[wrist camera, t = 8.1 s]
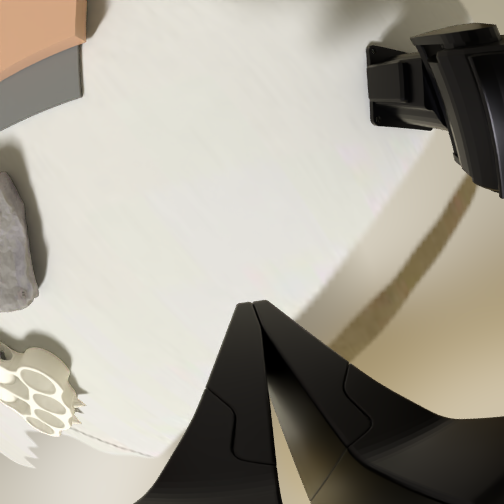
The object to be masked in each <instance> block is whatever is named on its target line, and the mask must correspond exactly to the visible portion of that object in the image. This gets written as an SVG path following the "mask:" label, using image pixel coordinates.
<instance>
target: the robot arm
mask: <svg viewBox="0 0 504 504" xmlns="http://www.w3.org/2000/svg"><path fill="white" fill-rule="evenodd" d="M410 39H411V41H412V43H413V45H414V46H415V45H416V48H417V50H418V52H414V53H405V52H401V51H397V50H393V49H388V48H384V47H379V46H374V45H372V46H369V47H367V49H366V54H367V64H368V68H367V78H368V95H369V99H370V119H371V123H372V124H373V125H375V126H385V127H398V128H409V129H419V130H427V131H431V130H432V129H433V128H436V129H441V130H446V131H449V135H450V138H451V142H452V146H453V150H454V153H453V155H454V160H455V161H456V162H457V163H458V164H459V165H461V167H462V169H463V170H464V171H465V172H466V173H467V174H468V175H469V176H471V177H472V181H473V182H474V183H475V184H477V185H479V186H481V187H483V188H486V189H489V190H491V191H494V192H497V193H499V197H500V198H502V199H504V35H500V33H499V31H498V28H497V26H496V25H494V24H484V23H469V24H462V25H456V26H450V27H446V28H442V29H438V30H434V31H431V32H427V33H424V34H421V35H417V36H414V37H411V38H410ZM372 49H373V50H374V52H375V53H374V54H373V53H372ZM376 117H378V119H379V120H378V122H377V121H376ZM269 395H270V398H271V401H272V404H273V406H274V409H275V412H276V414H277V417H278V420H279V423H280V426H281V428H282V431H283V434H284V436H285V439H286V441H287V444H288V447H289V449H290V452H291V455H292V457H293V460H294V462H295V465H296V468H297V470H298V472H299V475H300V478H301V480H302V483H303V485H304V488H305V490H306V493H307V495H308V498H309V500H310V501H311V504H504V416H503V417H493V418H478V419H451V418H447V417H443V416H440V415H437V414H435V413H433V412H431V411H429V410H427V409H425V408H423V407H421V406H419V405H417V404H416V403H414V402H412V401H410V400H408V399H406V398H404V397H403V396H401V395H399V394H397V393H395V392H393V391H392V390H390V389H388V388H387V387H385V386H383V385H382V384H380V383H378V382H377V381H375V380H373V379H372V378H371V377H369V376H368V375H366V374H365V373H363V372H362V371H360V370H359V369H358V368H356V367H355V366H354V365H352V364H349V362H348V361H347V360H345V359H344V358H343V357H341V356H340V355H339V354H337V353H336V352H335V351H333V350H332V349H331V348H329V347H328V346H327V345H325V344H324V343H323V342H321V341H320V340H319V339H317V338H316V337H315V336H313V335H312V334H311V333H309V332H308V331H307V330H305V329H304V328H303V327H301V326H300V325H299V324H297V323H296V322H295V321H294V320H292V319H291V318H290V317H288V316H287V315H286V314H284V313H283V312H282V311H281V310H279V309H278V308H277V307H275V306H274V305H273V304H271V303H270V302H269V301H267V300H261V301H254V302H253V303H251V302H245V303H238V304H237V305H236V308H235V311H234V313H233V316H232V319H231V321H230V324H229V326H228V329H227V332H226V334H225V337H224V340H223V342H222V345H221V348H220V350H219V353H218V356H217V358H216V361H215V364H214V366H213V369H212V371H211V374H210V377H209V379H208V382H207V385H206V389H205V390H204V392H203V395H202V397H201V400H200V402H199V405H198V407H197V409H196V412H195V414H194V416H193V418H192V420H191V422H190V424H189V426H188V428H187V430H186V432H185V433H184V435H183V437H182V439H181V440H180V442H179V444H178V446H177V447H176V449H175V451H174V452H173V454H172V456H171V457H170V459H169V461H168V462H167V464H166V466H165V467H164V469H163V471H162V472H161V474H160V476H159V477H158V479H157V480H156V482H155V483H154V484H153V486H152V487H151V488H150V489H149V491H148V492H147V493H146V494H145V495H144V496H143V497H142V498H140V499H139V500H138V501H137V502H135V503H134V504H283V503H282V499H281V494H280V488H279V481H278V473H277V468H276V456H275V446H274V436H273V427H272V418H271V408H270V399H269Z"/></svg>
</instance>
